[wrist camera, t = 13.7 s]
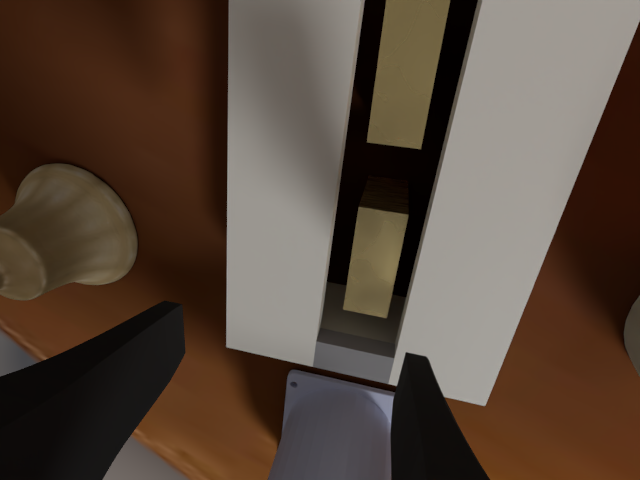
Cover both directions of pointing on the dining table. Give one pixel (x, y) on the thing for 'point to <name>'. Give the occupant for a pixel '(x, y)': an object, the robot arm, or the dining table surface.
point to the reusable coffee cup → (633, 334)
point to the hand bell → (64, 233)
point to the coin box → (447, 194)
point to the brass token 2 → (377, 246)
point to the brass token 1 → (406, 71)
